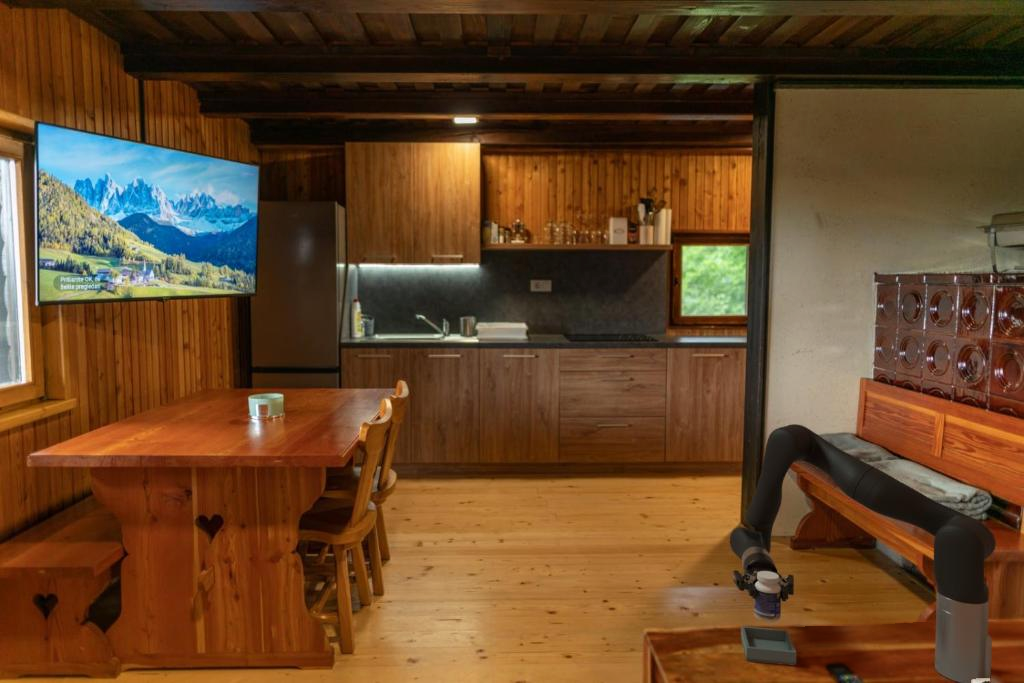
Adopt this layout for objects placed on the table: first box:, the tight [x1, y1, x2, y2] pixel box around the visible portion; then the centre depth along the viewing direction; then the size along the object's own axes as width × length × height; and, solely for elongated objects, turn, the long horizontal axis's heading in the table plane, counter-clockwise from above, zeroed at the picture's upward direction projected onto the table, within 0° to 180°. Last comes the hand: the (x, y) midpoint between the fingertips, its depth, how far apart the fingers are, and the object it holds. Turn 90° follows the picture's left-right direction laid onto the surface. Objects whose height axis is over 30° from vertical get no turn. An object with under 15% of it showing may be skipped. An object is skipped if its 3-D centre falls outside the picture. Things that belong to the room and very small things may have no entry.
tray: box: [740, 625, 797, 666], centre depth 156 cm, size 10×10×3 cm
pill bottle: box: [753, 571, 782, 623], centre depth 155 cm, size 6×6×10 cm
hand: (769, 595), depth 153 cm, fingers closed on pill bottle, 5 cm apart
